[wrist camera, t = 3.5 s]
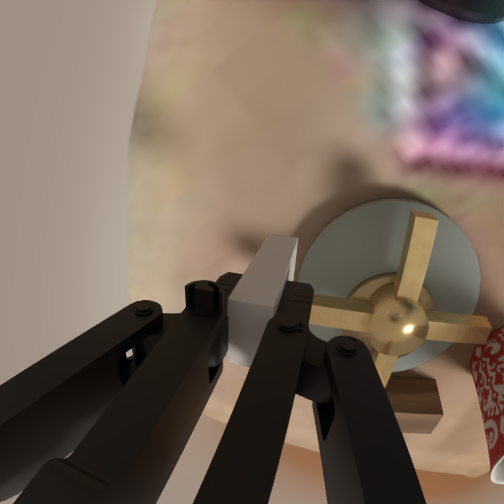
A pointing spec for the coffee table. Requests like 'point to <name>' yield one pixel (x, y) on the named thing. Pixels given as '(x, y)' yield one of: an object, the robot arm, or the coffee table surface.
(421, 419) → the brown angular block
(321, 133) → the coffee table surface
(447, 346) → the stand plate
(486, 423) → the mug
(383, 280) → the cam capstan
